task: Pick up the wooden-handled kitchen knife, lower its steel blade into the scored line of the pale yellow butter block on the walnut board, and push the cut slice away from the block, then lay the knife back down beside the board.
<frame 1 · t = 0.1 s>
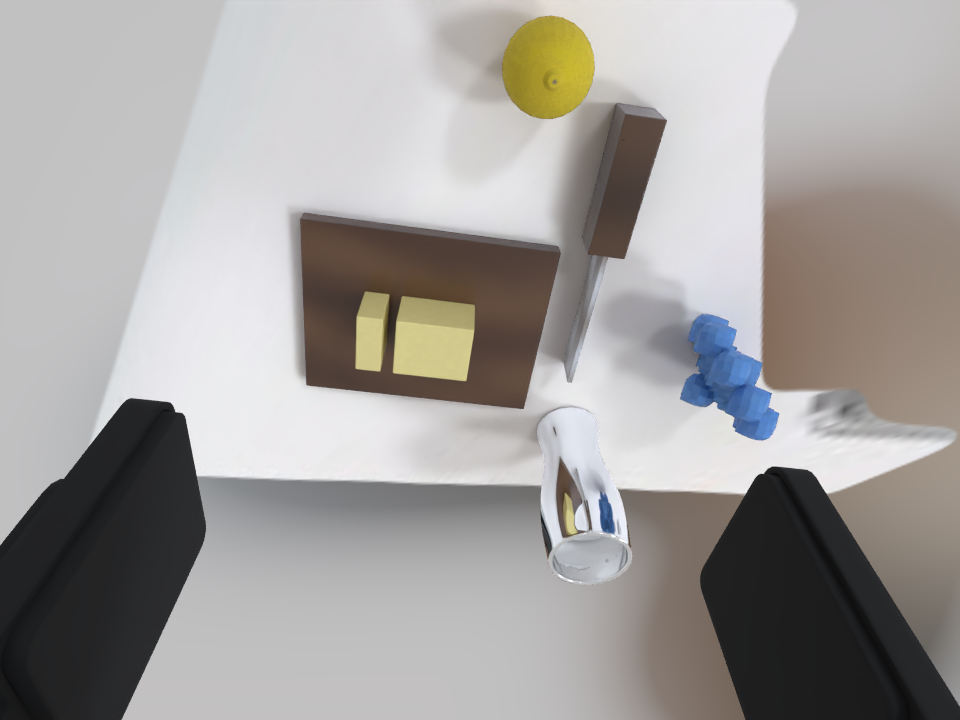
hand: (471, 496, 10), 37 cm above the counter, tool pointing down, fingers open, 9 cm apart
beer glass: (567, 428, 58), on the counter
board: (424, 316, 51), on the counter
grapes: (697, 338, 52), on the counter
butter block: (435, 325, 50), point 1 cm above the counter, touching board
knife: (616, 177, 44), on the counter
lemon: (542, 57, 39), on the counter
butter slice: (376, 318, 49), point 1 cm above the counter, touching board
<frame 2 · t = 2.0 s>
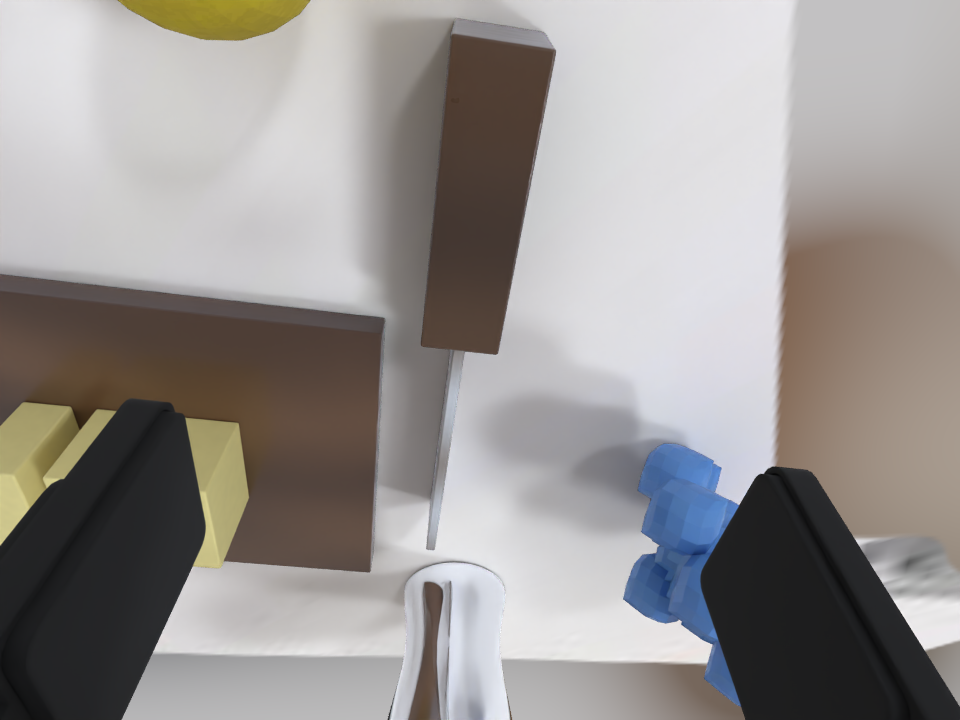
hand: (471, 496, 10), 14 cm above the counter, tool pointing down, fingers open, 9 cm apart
beer glass: (455, 588, 36), on the counter
board: (166, 435, 28), on the counter
grapes: (660, 465, 30), on the counter
butter block: (177, 455, 27), point 1 cm above the counter, touching board
knife: (478, 184, 21), on the counter
butter slice: (63, 445, 27), point 1 cm above the counter, touching board
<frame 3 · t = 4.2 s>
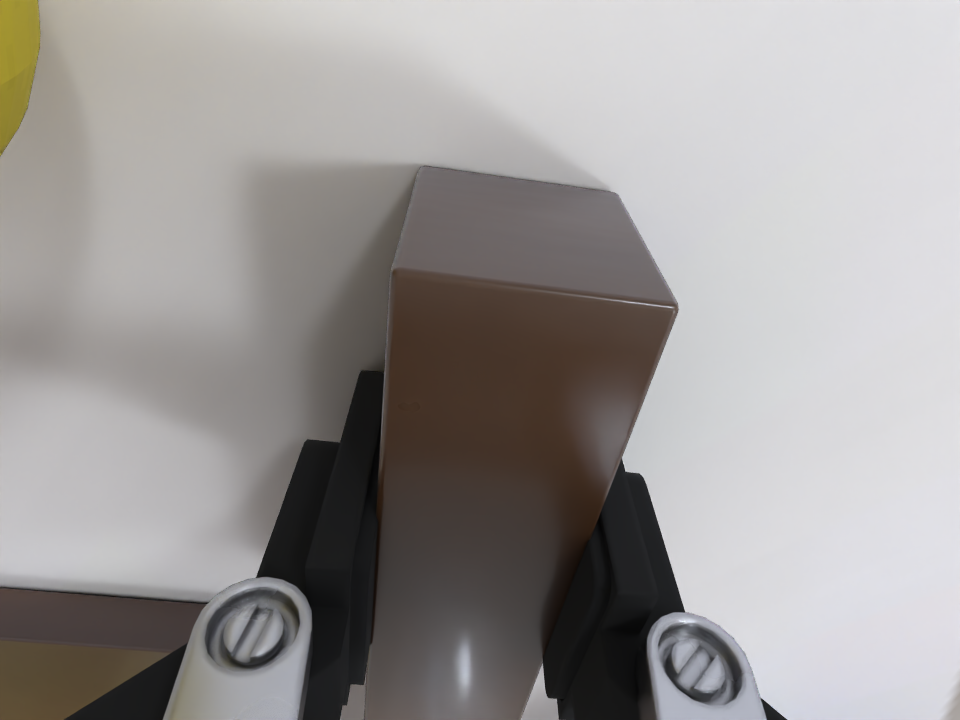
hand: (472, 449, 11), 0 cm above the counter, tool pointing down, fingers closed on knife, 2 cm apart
knife: (472, 442, 11), on the counter, touching gripper
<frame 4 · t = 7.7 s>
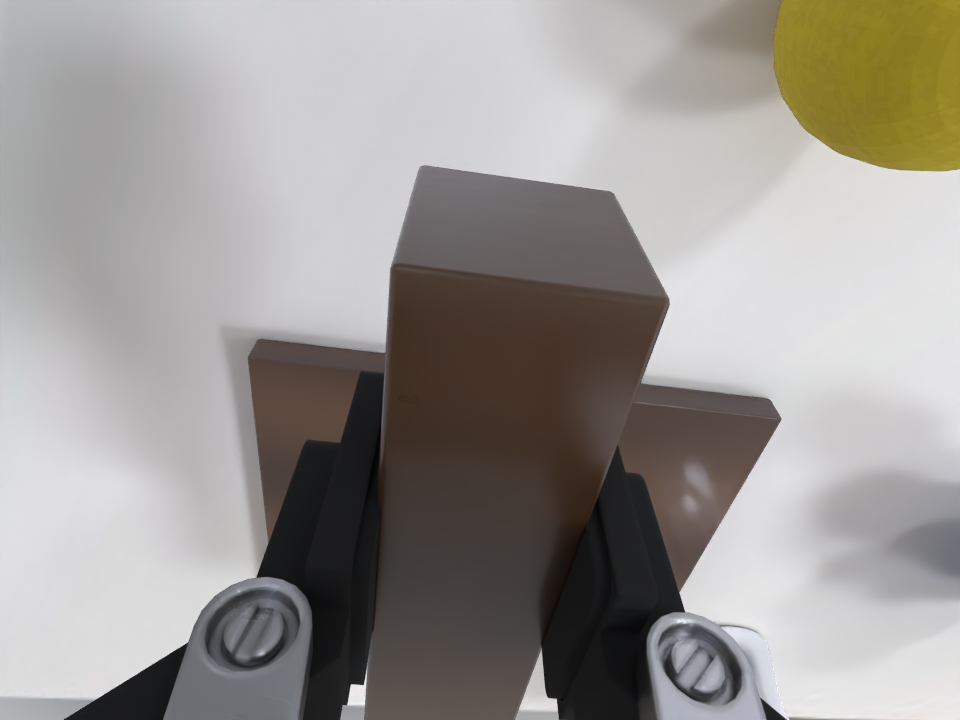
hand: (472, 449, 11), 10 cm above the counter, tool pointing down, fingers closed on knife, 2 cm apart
beer glass: (712, 649, 35), on the counter
board: (491, 506, 27), on the counter
knife: (471, 437, 11), point 10 cm above the counter, touching gripper
lemon: (832, 5, 16), on the counter
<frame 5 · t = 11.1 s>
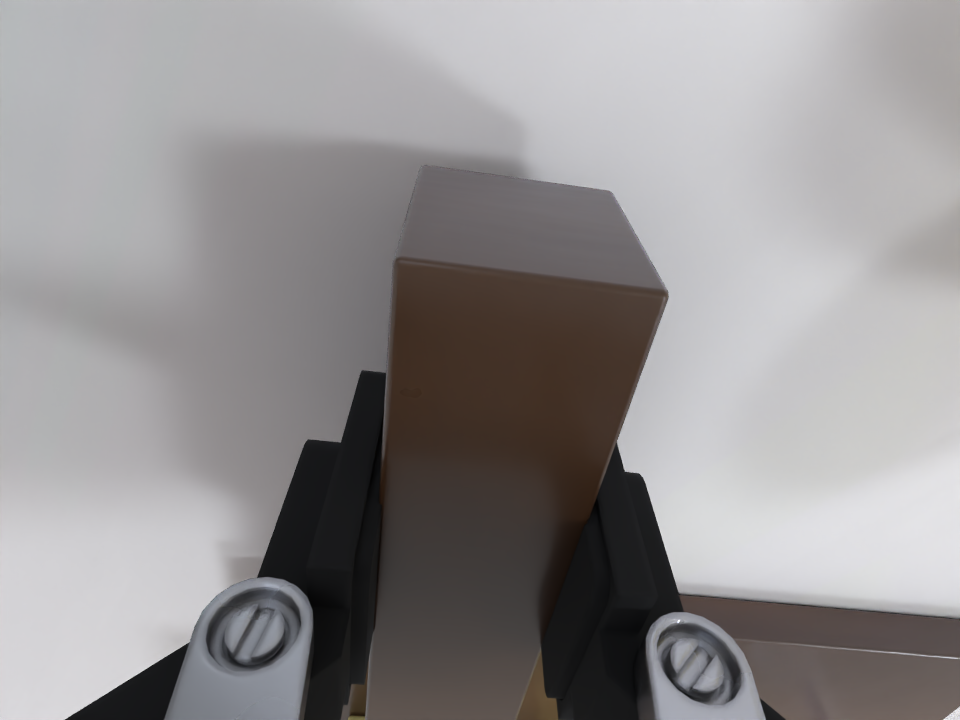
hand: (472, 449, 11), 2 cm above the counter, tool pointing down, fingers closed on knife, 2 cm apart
knife: (472, 437, 11), point 1 cm above the counter, touching butter slice, gripper
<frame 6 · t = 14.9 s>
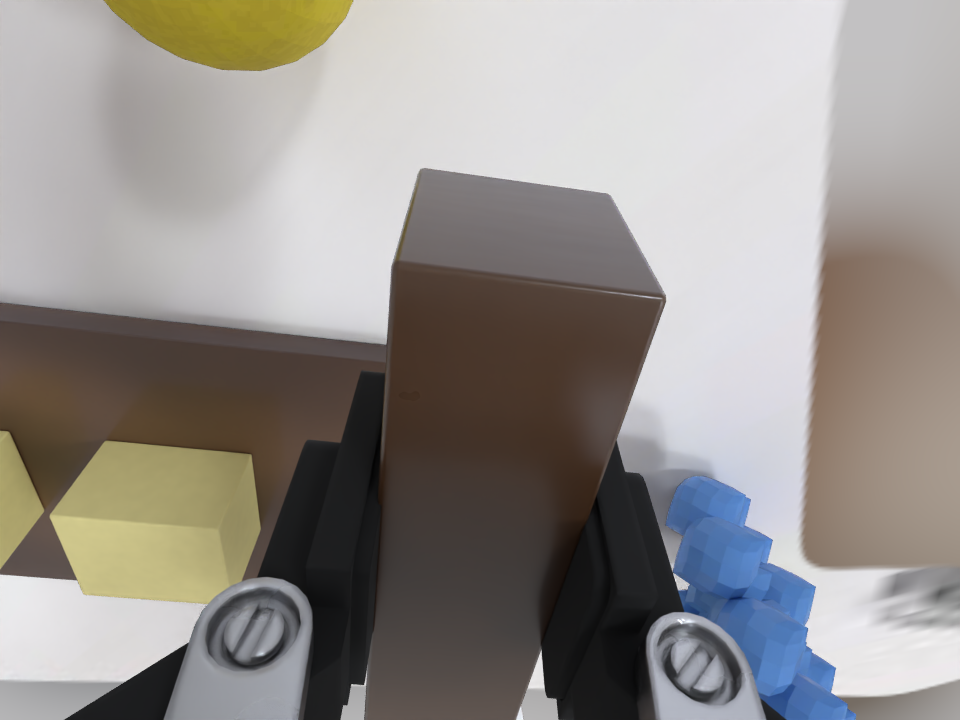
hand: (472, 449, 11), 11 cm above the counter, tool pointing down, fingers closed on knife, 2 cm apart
board: (176, 465, 27), on the counter
grapes: (685, 494, 29), on the counter
butter block: (188, 486, 26), point 1 cm above the counter, touching board
knife: (471, 439, 11), point 11 cm above the counter, touching gripper
butter slice: (4, 470, 26), point 1 cm above the counter, touching board
when the fingers open (0 cm above the counter, at t = 17.5 s): knife stays where it is, on the counter.
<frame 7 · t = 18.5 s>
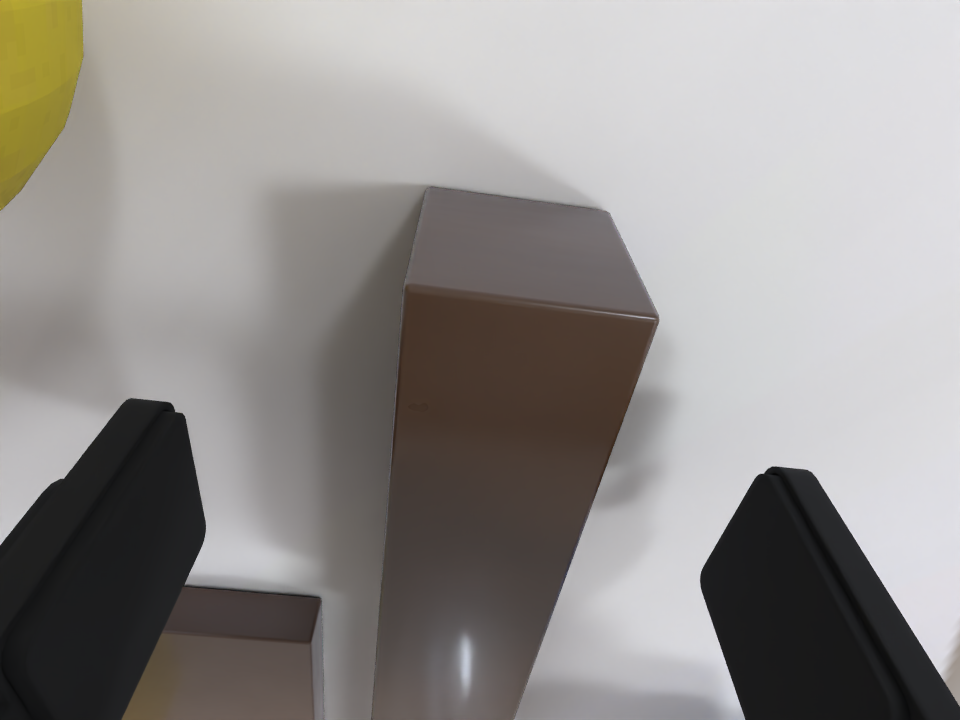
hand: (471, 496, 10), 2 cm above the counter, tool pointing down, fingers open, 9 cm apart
board: (1, 719, 18), on the counter
knife: (474, 441, 12), on the counter
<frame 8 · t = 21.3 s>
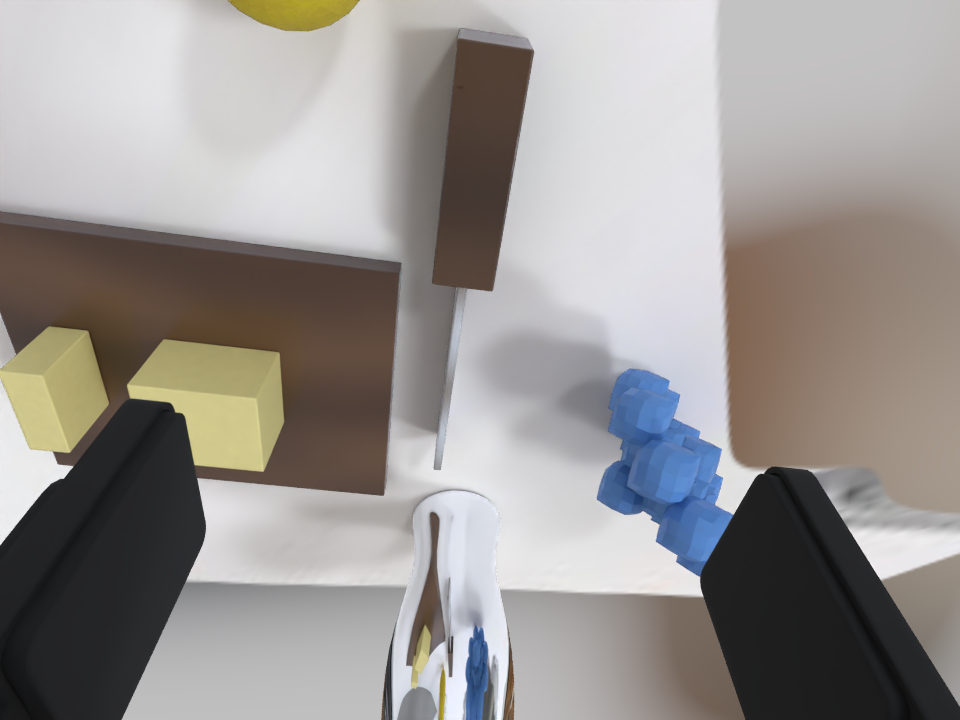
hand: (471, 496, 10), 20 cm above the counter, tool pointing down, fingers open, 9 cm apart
beer glass: (456, 517, 41), on the counter
board: (216, 367, 33), on the counter
grapes: (631, 398, 35), on the counter
butter block: (227, 382, 33), point 1 cm above the counter, touching board
knife: (477, 157, 27), on the counter
butter slice: (80, 366, 32), point 1 cm above the counter, touching board
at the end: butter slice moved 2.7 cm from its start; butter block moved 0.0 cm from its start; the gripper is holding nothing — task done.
